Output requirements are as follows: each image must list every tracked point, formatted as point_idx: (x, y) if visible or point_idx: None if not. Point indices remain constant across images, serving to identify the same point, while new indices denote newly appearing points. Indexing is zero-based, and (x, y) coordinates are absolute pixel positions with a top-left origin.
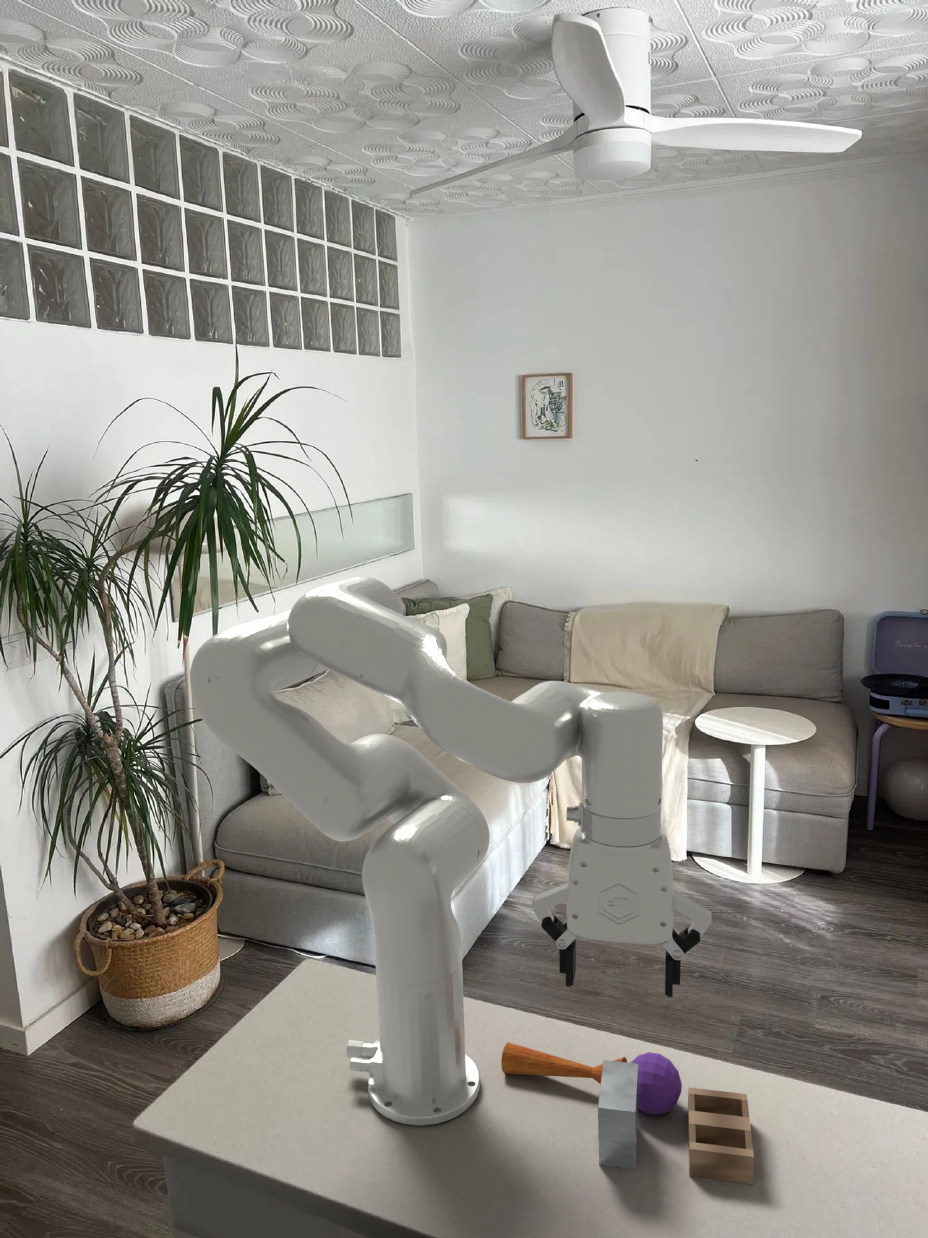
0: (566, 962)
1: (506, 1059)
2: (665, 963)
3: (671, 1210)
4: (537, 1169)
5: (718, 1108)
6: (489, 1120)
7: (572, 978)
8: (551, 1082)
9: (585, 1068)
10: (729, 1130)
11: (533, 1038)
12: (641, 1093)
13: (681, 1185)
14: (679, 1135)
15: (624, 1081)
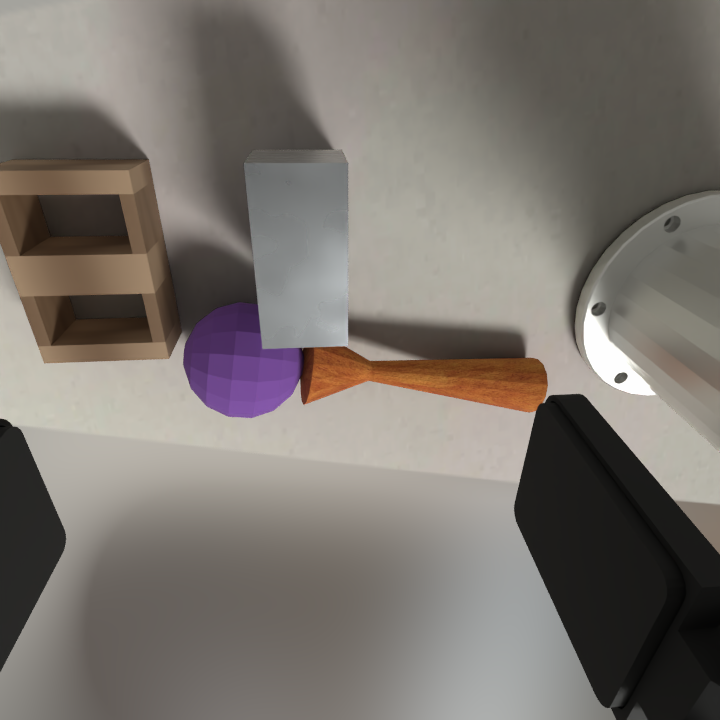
0: (671, 501)
1: (537, 372)
2: (5, 628)
3: (168, 44)
4: (462, 118)
5: (110, 332)
6: (557, 239)
7: (564, 429)
8: (441, 356)
9: (384, 373)
10: (56, 254)
11: (475, 449)
12: None
13: (160, 128)
14: (188, 270)
15: (288, 281)
